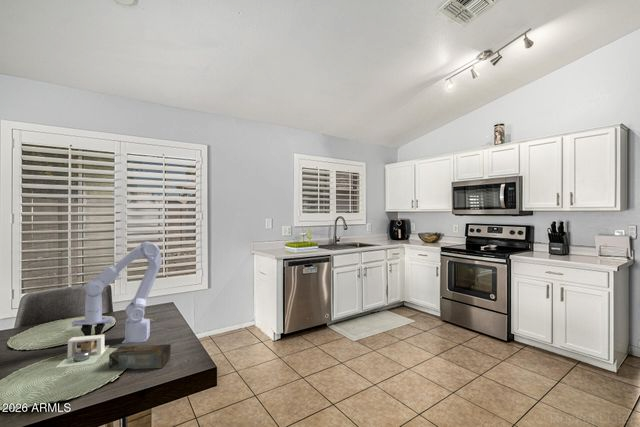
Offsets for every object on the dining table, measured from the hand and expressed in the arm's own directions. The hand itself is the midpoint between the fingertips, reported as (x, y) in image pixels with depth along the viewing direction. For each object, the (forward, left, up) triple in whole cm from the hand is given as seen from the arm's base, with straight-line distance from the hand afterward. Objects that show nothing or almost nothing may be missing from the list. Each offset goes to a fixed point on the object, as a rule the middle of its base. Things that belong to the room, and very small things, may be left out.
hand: (93, 342), depth 130 cm
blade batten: (0, +1, -2) cm, 2 cm away
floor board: (0, +8, -3) cm, 8 cm away
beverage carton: (-22, +21, -3) cm, 31 cm away
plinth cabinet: (0, +7, -3) cm, 7 cm away
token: (0, +11, -2) cm, 12 cm away
